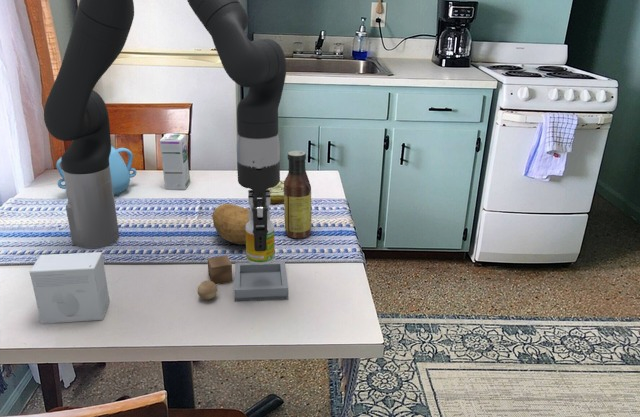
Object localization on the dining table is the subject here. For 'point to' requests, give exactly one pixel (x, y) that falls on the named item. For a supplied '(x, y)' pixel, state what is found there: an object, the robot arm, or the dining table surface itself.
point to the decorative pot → (112, 170)
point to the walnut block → (220, 269)
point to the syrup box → (175, 161)
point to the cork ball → (207, 290)
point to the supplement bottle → (269, 254)
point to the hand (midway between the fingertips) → (260, 242)
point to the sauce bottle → (297, 197)
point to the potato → (231, 222)
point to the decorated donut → (277, 193)
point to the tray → (260, 281)
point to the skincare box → (70, 287)
